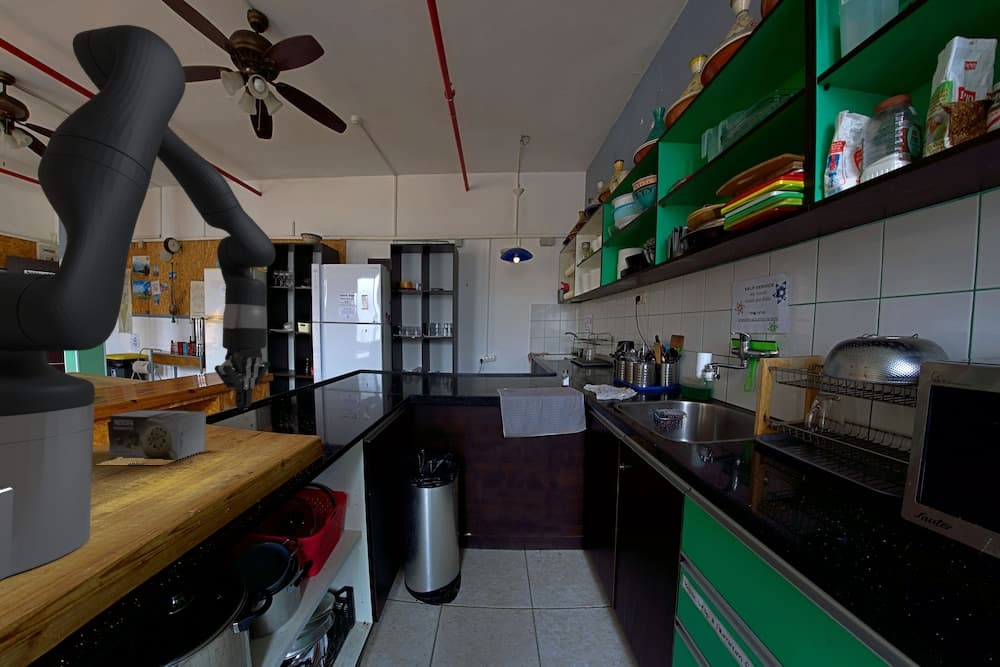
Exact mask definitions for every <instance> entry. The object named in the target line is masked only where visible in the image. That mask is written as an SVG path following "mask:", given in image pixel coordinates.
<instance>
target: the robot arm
mask: <svg viewBox="0 0 1000 667" xmlns="http://www.w3.org/2000/svg"><path fill="white" fill-rule="evenodd" d="M72 48H73V54H74V55H75V59H77V62H78V64H79V65H80V67H81V69H83V71H84V73H85V75H87V78H89V79H90V81H91V82H92V83H93V85H94V86H95V87H96V88H97V89H98V91H99V92H98V93H96V94H95V95H94V96H92V97H91V98H89V100H87V101H86V102H85V103H83V104H82V105H80V107H78V108H77V109H75V110H74V111H73V112H71V114H70V115H68V116H67V117H66V118H65V119H64V120H63V121H62V122H61V123H60V124H59V125H58V126H57V127H56V128H55V130H54V131H53V133H52V134H51V136H50V138H49V140H48V142H47V145H46V148H45V149H44V152H43V154H42V156H41V159H40V161H39V165H38V169H37V179H38V183H39V185H40V187H41V189H42V192H43V194H44V195H45V197H46V199H47V201H48V202H49V204H50V206H51V207H52V208H53V210H54V212H55V214H56V215H57V216H58V218H59V220H60V222H61V223H62V225H63V227H64V230H65V233H66V246H65V249H64V253H63V258H62V259H61V263H60V265H59V267H58V268H57V270H56V271H55V272H54V274H50V273H49V274H48V273H32V272H31V273H28V272H5V271H3V272H2V271H0V580H3V579H5V578H6V577H7V578H8V577H10V576H13V575H15V574H18V573H21V572H26V571H29V570H30V569H34V568H36V567H39V566H43V565H44V564H47V563H50V562H53V561H55V560H58V559H60V558H62V557H64V556H65V555H67V554H69V553H72V552H73V551H75V550H77V549H78V548H81V546H83V545H84V544H86V543H87V542H88V541H89V539H90V536H91V535H90V534H91V515H92V514H91V513H92V512H91V509H92V506H91V505H92V482H93V481H92V480H93V477H92V476H93V475H92V474H93V454H94V453H93V452H94V451H93V450H94V449H93V448H94V447H93V446H94V424H95V420H94V419H95V400H96V398H95V395H96V394H95V392H96V391H95V390H96V389H95V385H94V383H93V382H92V381H91V380H88V379H85V378H81V377H79V376H75V375H72V374H67V373H65V372H62V371H60V370H58V369H57V368H55V367H54V366H52V365H51V364H50V363H49V362H48V359H47V355H46V352H72V351H73V352H75V351H78V352H79V351H87V350H92V349H94V348H97V347H100V346H101V345H102V344H104V343H105V342H106V341H107V340H109V339H110V336H111V335H112V334H113V333H114V331H115V328H116V325H117V322H118V320H119V316H120V311H121V306H122V300H123V294H124V286H125V280H126V270H127V264H128V258H129V253H130V249H131V245H132V240H133V236H134V234H135V230H136V226H137V222H138V219H139V217H140V213H141V210H142V207H143V204H144V202H145V199H146V196H147V193H148V190H149V187H150V182H151V179H152V176H153V175H152V173H153V169H154V166H155V163H156V160H157V158H158V159H159V160H160V161H161V162H162V163H163V165H164V166H165V167H166V169H168V171H169V172H170V173H171V174H172V176H173V177H174V179H175V180H176V182H177V183H178V184H179V185H180V187H181V188H182V190H183V191H184V192H185V194H186V195H187V197H188V198H189V200H190V202H191V203H192V205H193V206H194V207H195V209H196V211H197V212H198V213H199V215H200V216H201V218H202V219H203V220H204V222H206V224H207V225H208V226H210V227H212V228H215V229H219V230H222V231H224V232H226V233H227V234H228V236H225V237H223V238H222V239H221V240H220V241H219V243H218V246H217V249H216V250H217V251H216V254H217V261H218V265H219V268H220V271H221V275H222V280H223V281H224V284H225V292H224V293H225V294H224V295H225V296H224V304H225V305H224V310H223V316H222V348H223V349H226V354H225V356H224V362H223V363H222V364H221V365H220V364H219V365H217V364H216V365H215V366H214V371H215V372H216V375H218V377H219V378H220V380H221V381H222V382H223V384H224V386H225V387H226V389H232V390H235V398H234V399H235V401H234V402H235V407H236V408H247V407H250V406H251V405H252V401H253V390H254V388H255V386H256V385H260V384H261V382H262V380H263V379H264V377H265V375H266V373H267V371H268V370H269V369H268V368H269V367H270V365H271V363H270V361H265V360H264V359H263V353H262V349H264V348H266V347H267V336H268V335H267V334H268V333H267V326H268V324H267V323H268V317H267V316H268V314H267V306H266V305H267V287H266V283H265V282H263V281H262V280H261V279H257V278H254V277H253V275H252V271H251V269H252V268H253V269H254V268H256V269H257V268H259V269H261V268H266V267H269V266H271V265H272V264H273V263H274V262H275V260H276V248H275V246H274V244H273V242H272V240H271V239H270V237H269V236H268V234H266V233H265V232H264V230H263V229H262V228H261V227H260V226H259V224H257V223H256V221H255V220H254V219H253V218H252V217H251V216H249V214H248V213H247V212H246V211H245V210H244V208H243V207H242V205H241V203H240V201H239V199H238V198H237V197H236V195H235V193H234V192H233V190H232V188H231V186H230V185H229V183H228V181H227V180H226V178H225V177H224V176H223V175H222V174H221V173H220V171H218V169H216V168H215V166H213V164H211V163H210V162H209V161H208V160H206V158H204V156H202V155H201V154H200V153H198V152H197V151H195V150H194V149H193V148H192V147H191V146H189V145H188V144H187V143H186V142H185V141H184V140H183V139H182V138H180V136H178V135H177V133H175V131H174V130H172V128H171V127H170V126H169V123H170V121H171V119H172V117H173V116H174V113H175V111H176V109H178V108H177V107H178V105H179V104H180V103H181V101H182V99H183V97H184V94H185V91H186V73H185V70H184V68H183V64H182V63H181V61H180V58H179V55H177V53H176V52H175V50H174V49H173V47H171V45H170V44H169V43H168V42H167V41H166V40H165V39H164V38H162V37H161V36H160V35H159V34H157V33H155V32H154V31H152V30H150V29H148V28H145V27H143V26H139V25H138V26H137V25H131V24H117V25H111V26H107V27H106V26H105V27H100V28H93V29H89V30H84V31H80V32H79V33H76V34H75V36H74V37H73V40H72Z"/></svg>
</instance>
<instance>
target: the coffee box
mask: <svg viewBox="0 0 1000 667" xmlns="http://www.w3.org/2000/svg"><path fill="white" fill-rule="evenodd" d="M206 418H207V412H206V411H190V410H187V411H186V410H162V409H161V410H160V409H159V410H158V409H140V410H136V411H135V410H133V411H129V412H123V413H118V414H112V415H110V420H109V422H110V424H109V447H108V448H109V450H108V453H109V454H108V457H109V458H116V457H123V458H144V459H163V460H178V461H180V460H179V459H181V460H183V459H182V458H184V459H186V458H188V457H187V456H189V457H191V455H192V456H194V455H196V453H197V454H200V453H202V452H201V451H203V452H205V451H206V450H205V449H206V428H207V426H206V424H207V423H206V422H207V419H206ZM204 450H205V451H204ZM199 452H200V453H199ZM193 454H194V455H193ZM185 457H186V458H185Z"/></svg>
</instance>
